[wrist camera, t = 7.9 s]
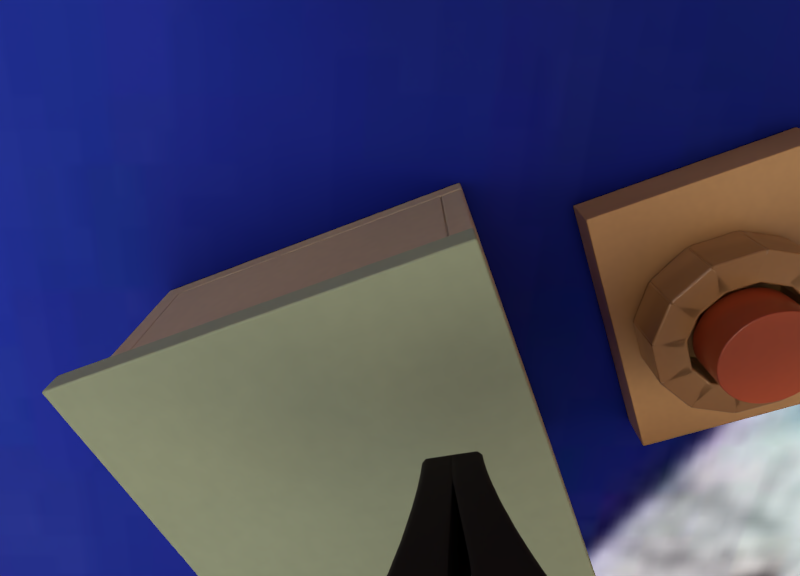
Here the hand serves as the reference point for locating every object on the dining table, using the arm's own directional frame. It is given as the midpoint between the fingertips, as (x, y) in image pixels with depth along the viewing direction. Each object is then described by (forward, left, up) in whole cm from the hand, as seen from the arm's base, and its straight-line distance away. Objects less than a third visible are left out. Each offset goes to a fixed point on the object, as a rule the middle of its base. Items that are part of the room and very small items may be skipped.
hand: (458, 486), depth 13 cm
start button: (-4, -10, -7) cm, 13 cm away
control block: (-4, -10, -10) cm, 15 cm away
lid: (-2, +4, -3) cm, 6 cm away
